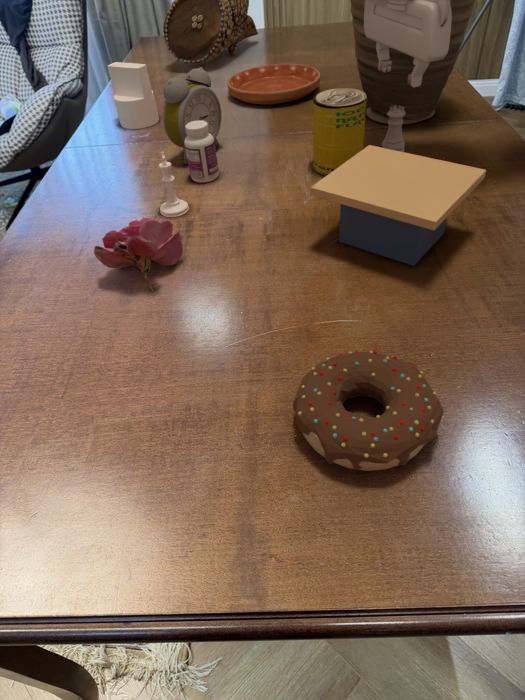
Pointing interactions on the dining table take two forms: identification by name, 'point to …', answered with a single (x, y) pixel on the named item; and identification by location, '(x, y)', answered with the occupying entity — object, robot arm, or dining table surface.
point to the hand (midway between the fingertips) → (398, 78)
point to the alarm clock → (190, 106)
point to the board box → (396, 200)
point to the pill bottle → (201, 152)
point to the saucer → (274, 83)
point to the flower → (141, 245)
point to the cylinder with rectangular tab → (133, 95)
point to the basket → (206, 28)
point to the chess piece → (171, 193)
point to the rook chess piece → (395, 130)
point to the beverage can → (337, 127)
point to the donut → (359, 431)
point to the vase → (405, 69)
